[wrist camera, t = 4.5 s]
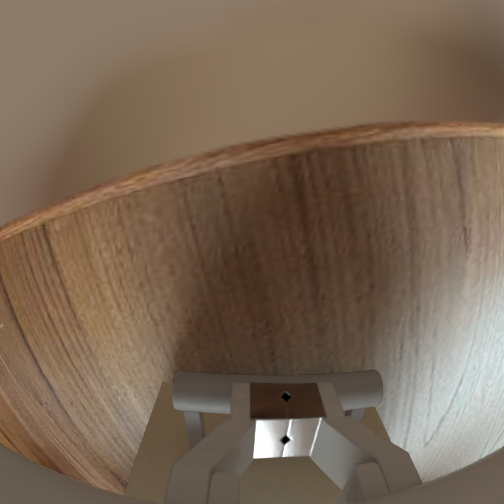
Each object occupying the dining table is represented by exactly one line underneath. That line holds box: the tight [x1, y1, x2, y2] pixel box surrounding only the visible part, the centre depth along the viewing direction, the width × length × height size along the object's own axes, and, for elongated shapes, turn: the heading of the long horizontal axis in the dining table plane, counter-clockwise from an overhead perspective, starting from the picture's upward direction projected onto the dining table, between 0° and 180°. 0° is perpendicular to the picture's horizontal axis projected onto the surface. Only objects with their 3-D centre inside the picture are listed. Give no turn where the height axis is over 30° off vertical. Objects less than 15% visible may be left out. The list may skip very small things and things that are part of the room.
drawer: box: [124, 370, 391, 504], centre depth 12 cm, size 18×11×8 cm, turn 178°
